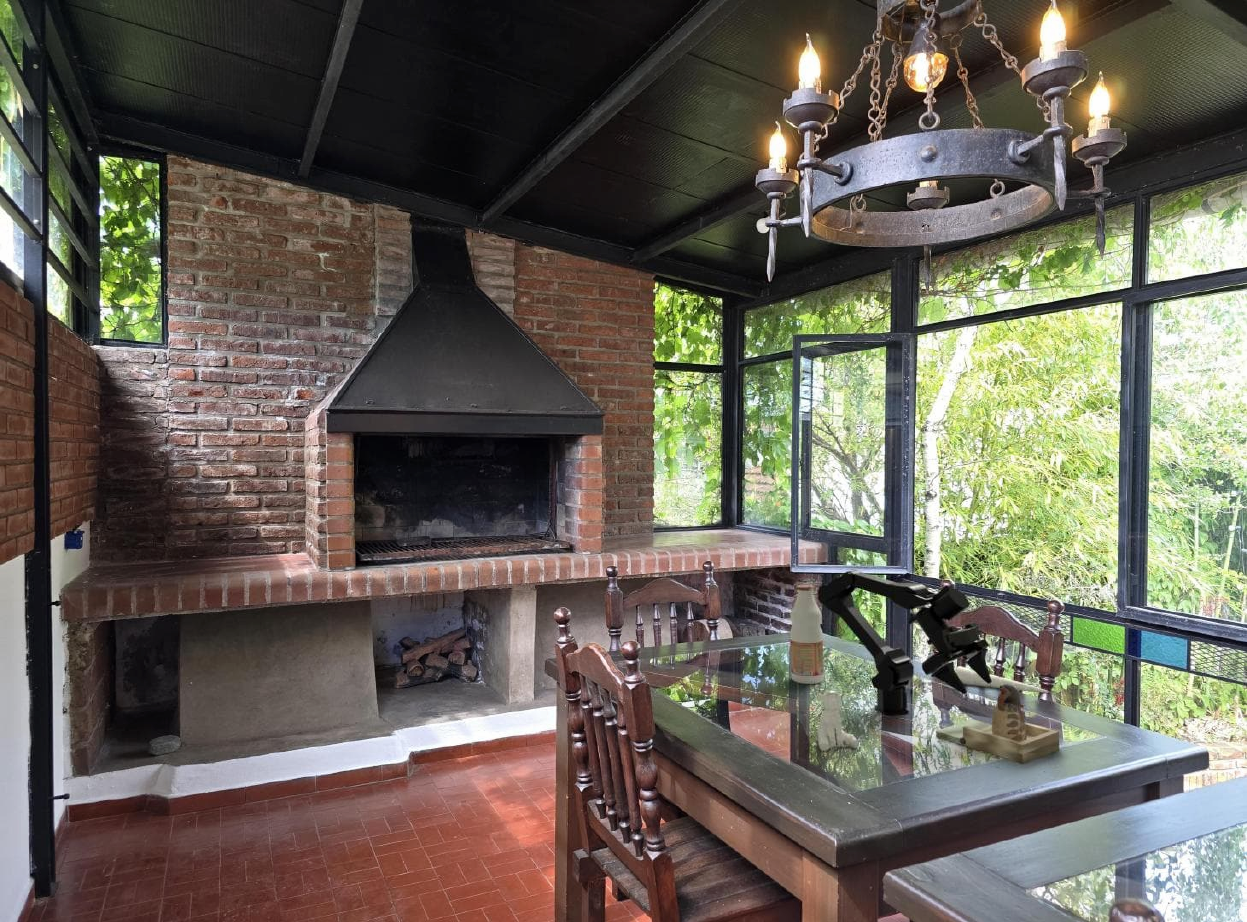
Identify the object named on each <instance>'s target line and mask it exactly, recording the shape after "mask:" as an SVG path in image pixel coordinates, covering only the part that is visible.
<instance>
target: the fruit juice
mask: <svg viewBox="0 0 1247 922" xmlns="http://www.w3.org/2000/svg"><path fill="white" fill-rule="evenodd" d="M796 592H797V596H796V599H795V601H794V602H795V603H794V605H793V606H792V608H791V610H790V612H789V613H790V617H789V618H790V622H791V628H790V634H789V635H790V636H789V637H790V666H791V668H790V673H791V675H790V676H791V680H792V681H793V682H794V683H798V684H805V685H815V684H820V683H823V682H824V678H825V670H824V668H825V666H824V664H825V663H824V635H823V633H824V632H823V630H822V628H821V624H822V619H823V616H822V611H821V610H820V608H819V606H818V604H817V601H816V599H815V595H814V594H813V593H814V585H813V584H812V585H811V584H799V585H796Z"/></svg>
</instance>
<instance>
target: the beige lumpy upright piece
mask: <svg viewBox="0 0 1247 922" xmlns="http://www.w3.org/2000/svg"><path fill="white" fill-rule="evenodd" d="M842 694H843V693H838V692H837V691H834V690H832V689H831V690H826V691H824V693H823V694H822V693H817V694H816V695H817V698H818V699H819V700H821V705H822V708H824V710H823V711H822V713H821V716H820V720H819V721H820V722H819V724H818V727H817V732H816V734H817V735H816V736H817V739H818V740H817V741H818V743H817V744H818V747H819V749H820V750H821V751H824V752H827V751H828V750H829V749H833V748H836V747H839V748H841V747H842V748H843V747H850V748H852V749H857V748H858V747H859V744H860V743H859V742H860V741H859V740H858V739H857V738H856V737H855V736H854V734H852V733H847V732H845V731H844V729H843V728H842V726H843V725H842V722H843V720H842V717H841V715H840V709H841V708H842V706H843V703H842Z"/></svg>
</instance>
